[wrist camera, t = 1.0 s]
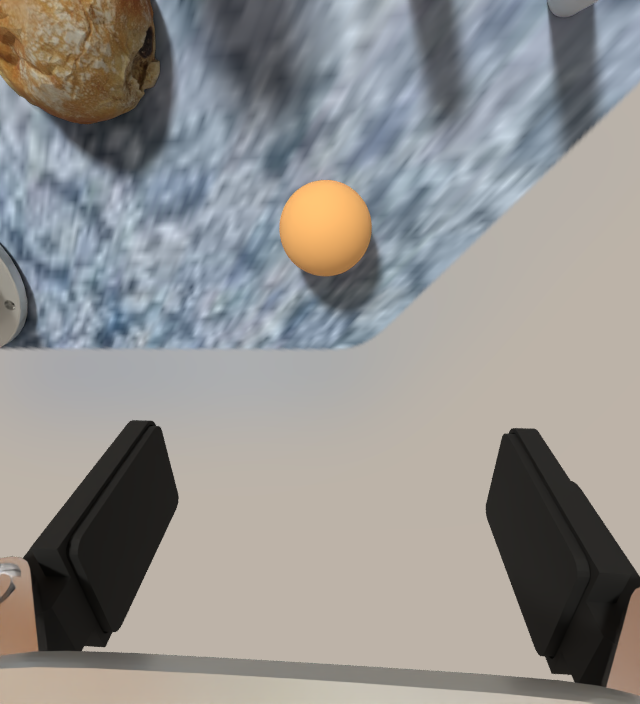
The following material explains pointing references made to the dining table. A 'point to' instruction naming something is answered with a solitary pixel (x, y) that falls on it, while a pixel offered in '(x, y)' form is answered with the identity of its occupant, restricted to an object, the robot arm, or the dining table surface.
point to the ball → (325, 228)
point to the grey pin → (568, 6)
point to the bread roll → (79, 55)
